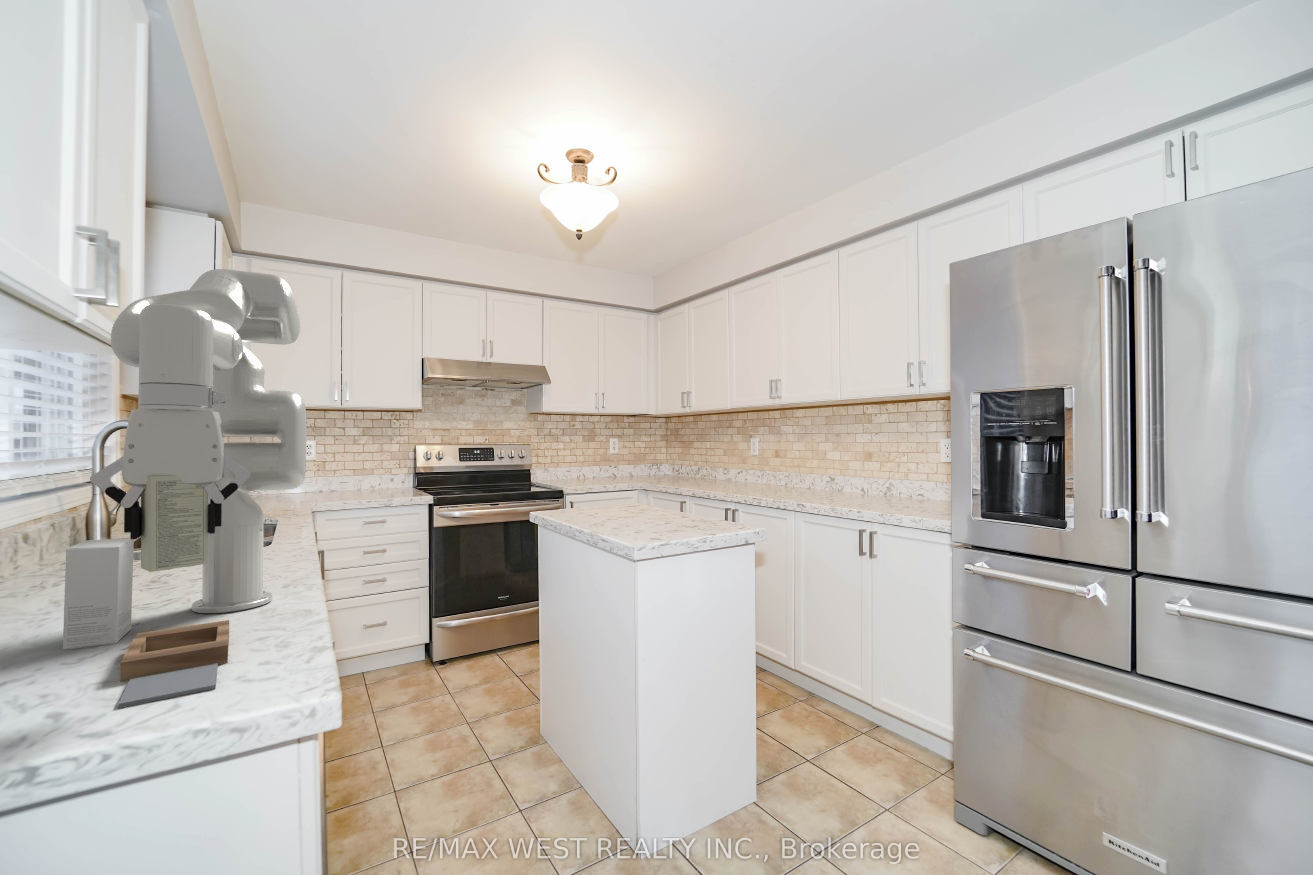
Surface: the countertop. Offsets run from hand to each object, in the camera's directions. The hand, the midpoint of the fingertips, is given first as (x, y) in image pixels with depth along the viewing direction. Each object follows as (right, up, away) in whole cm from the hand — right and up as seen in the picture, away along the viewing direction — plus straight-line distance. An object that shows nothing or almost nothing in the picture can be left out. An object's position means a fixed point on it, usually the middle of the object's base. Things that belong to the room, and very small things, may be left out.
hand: (174, 534), depth 75 cm
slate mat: (+1, -19, -2) cm, 19 cm away
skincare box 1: (-26, -20, +16) cm, 36 cm away
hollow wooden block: (-6, -19, +9) cm, 22 cm away
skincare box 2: (0, -4, 0) cm, 4 cm away
